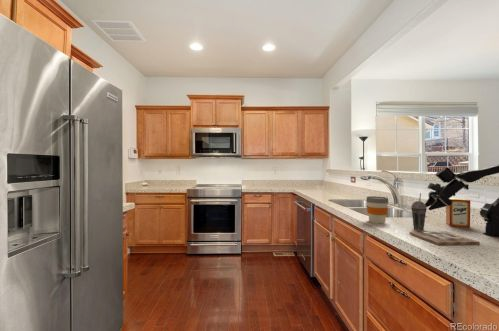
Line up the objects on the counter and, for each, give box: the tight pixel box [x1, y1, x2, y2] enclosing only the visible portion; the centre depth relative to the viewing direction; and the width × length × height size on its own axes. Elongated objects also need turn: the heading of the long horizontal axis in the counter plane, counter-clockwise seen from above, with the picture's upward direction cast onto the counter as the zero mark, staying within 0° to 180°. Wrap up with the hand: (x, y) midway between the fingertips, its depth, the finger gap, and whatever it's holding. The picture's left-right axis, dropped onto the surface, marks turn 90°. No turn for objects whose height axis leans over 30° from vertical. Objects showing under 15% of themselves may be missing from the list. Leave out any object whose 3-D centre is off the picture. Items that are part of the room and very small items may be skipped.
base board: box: [409, 230, 480, 246], centre depth 124 cm, size 20×18×2 cm
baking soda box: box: [445, 197, 471, 228], centre depth 151 cm, size 10×6×16 cm
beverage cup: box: [410, 193, 427, 231], centre depth 142 cm, size 7×7×20 cm
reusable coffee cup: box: [365, 195, 389, 224], centre depth 161 cm, size 12×13×15 cm
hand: (426, 208), depth 141 cm, fingers open, 9 cm apart
